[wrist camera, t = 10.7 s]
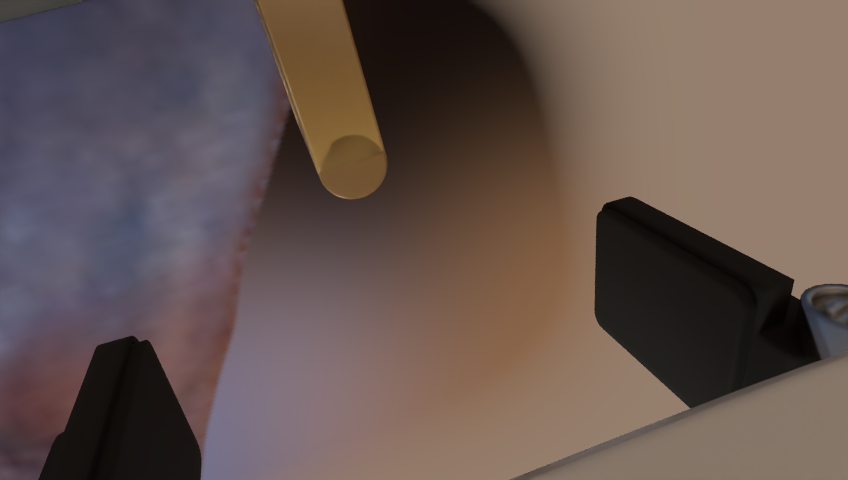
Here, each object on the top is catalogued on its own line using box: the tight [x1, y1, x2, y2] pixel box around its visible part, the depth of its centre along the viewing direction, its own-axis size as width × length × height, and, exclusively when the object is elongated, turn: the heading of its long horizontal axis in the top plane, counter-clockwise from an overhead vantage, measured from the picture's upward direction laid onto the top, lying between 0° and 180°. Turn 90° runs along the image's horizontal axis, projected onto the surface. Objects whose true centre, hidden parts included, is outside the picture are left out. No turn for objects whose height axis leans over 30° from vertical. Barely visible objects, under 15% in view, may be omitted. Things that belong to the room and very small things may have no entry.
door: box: [0, 0, 387, 199], centre depth 17 cm, size 8×14×14 cm, turn 104°
